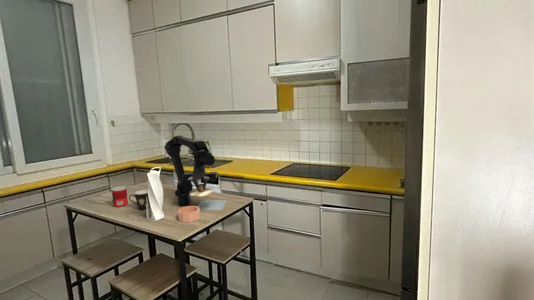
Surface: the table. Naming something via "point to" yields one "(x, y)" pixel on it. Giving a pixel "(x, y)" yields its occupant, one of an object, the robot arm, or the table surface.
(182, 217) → the bowl
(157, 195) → the skyscraper
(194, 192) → the lid
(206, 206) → the mat
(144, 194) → the coffee mug
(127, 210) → the table surface
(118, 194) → the canned food
